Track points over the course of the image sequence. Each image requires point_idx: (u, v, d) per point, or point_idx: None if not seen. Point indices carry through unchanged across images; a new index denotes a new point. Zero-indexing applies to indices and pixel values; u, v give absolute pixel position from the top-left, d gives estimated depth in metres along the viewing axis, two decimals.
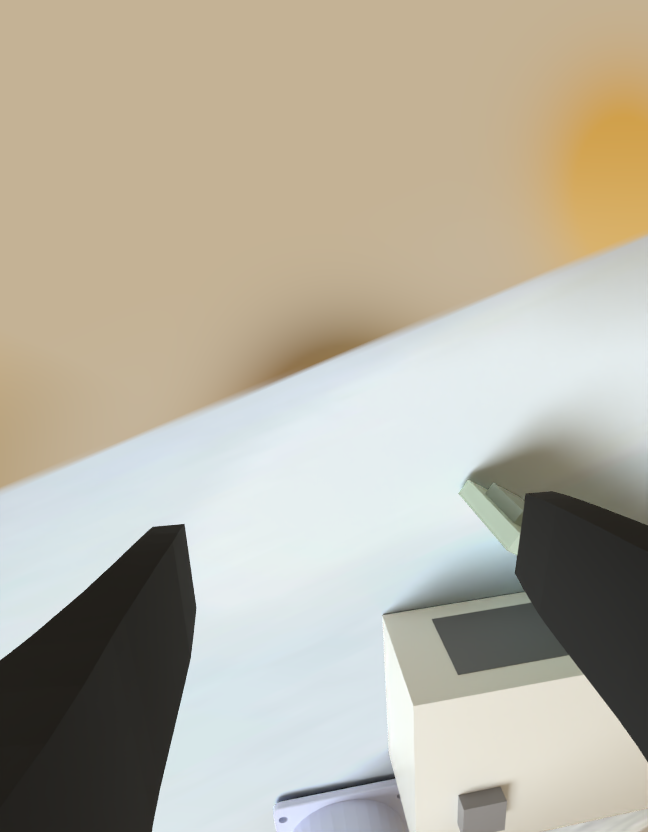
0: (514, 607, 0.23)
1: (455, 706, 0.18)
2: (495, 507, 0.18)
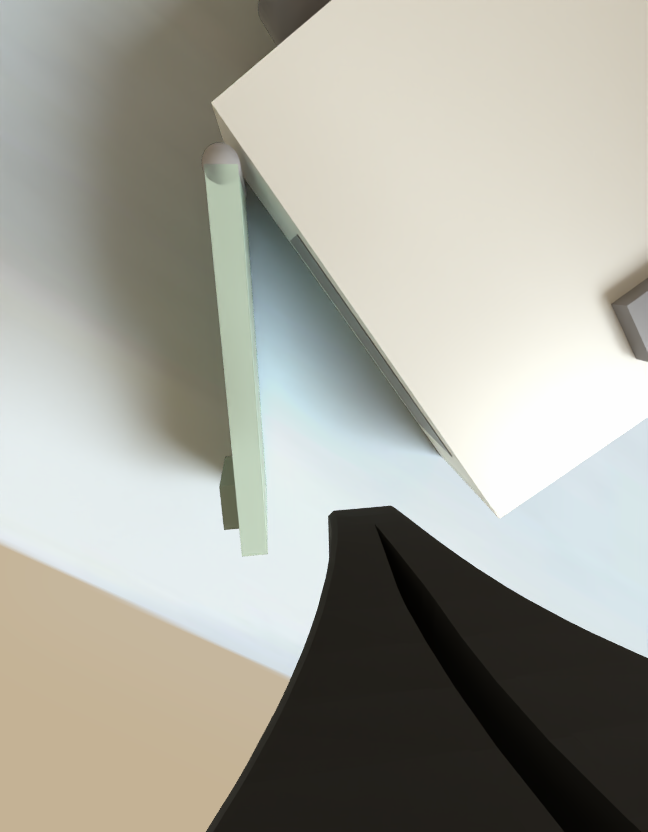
0: (360, 339, 0.16)
1: (485, 472, 0.14)
2: None
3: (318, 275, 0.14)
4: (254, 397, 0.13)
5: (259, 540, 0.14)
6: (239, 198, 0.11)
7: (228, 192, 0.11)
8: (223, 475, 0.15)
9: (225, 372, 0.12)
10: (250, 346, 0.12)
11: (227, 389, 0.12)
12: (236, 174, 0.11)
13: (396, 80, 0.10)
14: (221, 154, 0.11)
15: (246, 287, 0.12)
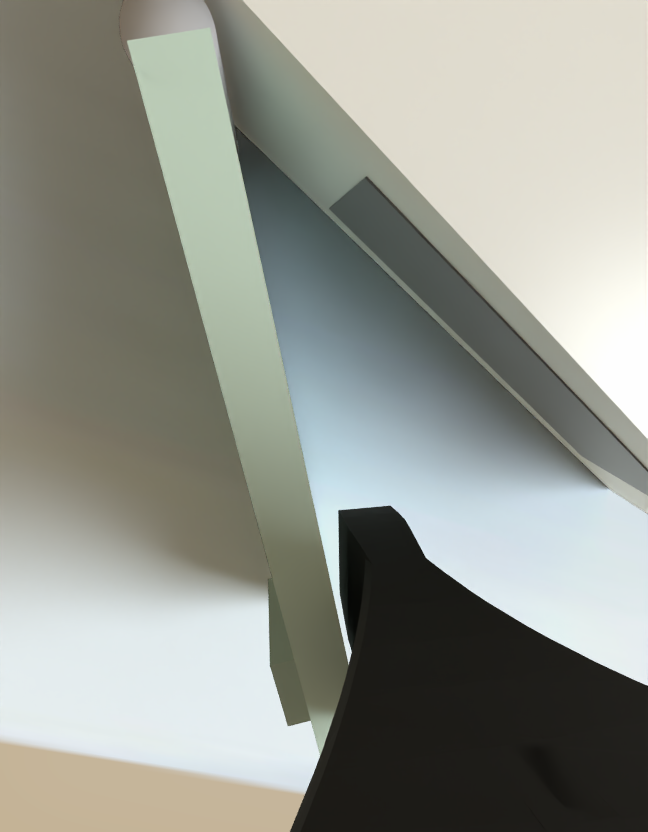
0: (472, 346, 0.10)
1: None
2: None
3: (398, 256, 0.08)
4: (317, 532, 0.06)
5: None
6: (226, 117, 0.05)
7: (198, 105, 0.05)
8: (272, 630, 0.09)
9: (253, 497, 0.06)
10: (296, 439, 0.06)
11: (262, 528, 0.06)
12: (210, 55, 0.04)
13: None
14: (165, 8, 0.04)
15: (271, 320, 0.05)
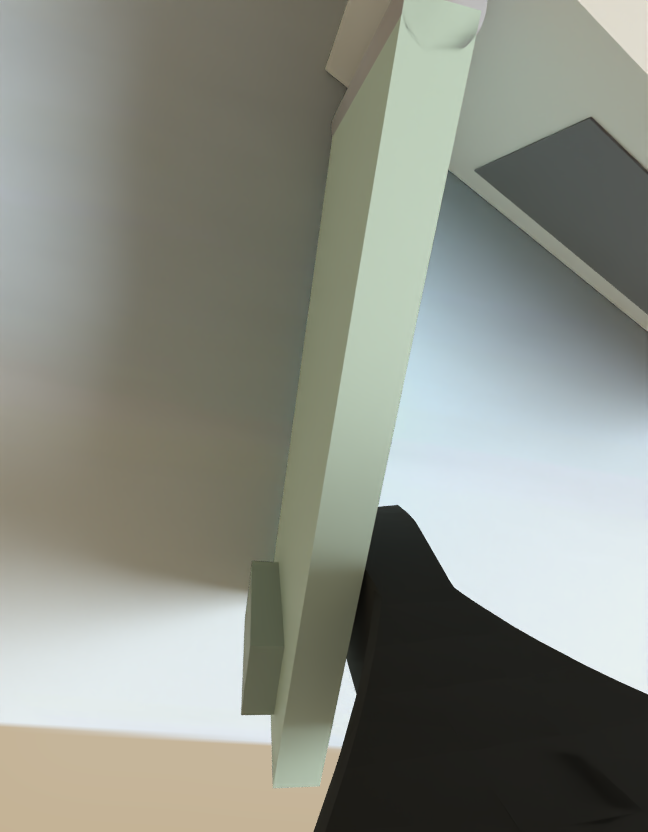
0: (620, 288, 0.10)
1: None
2: None
3: (569, 202, 0.08)
4: (372, 519, 0.06)
5: (312, 765, 0.07)
6: (459, 96, 0.05)
7: (441, 75, 0.05)
8: (254, 612, 0.09)
9: (328, 464, 0.06)
10: (393, 421, 0.06)
11: (325, 499, 0.06)
12: (470, 35, 0.05)
13: None
14: None
15: (418, 299, 0.05)
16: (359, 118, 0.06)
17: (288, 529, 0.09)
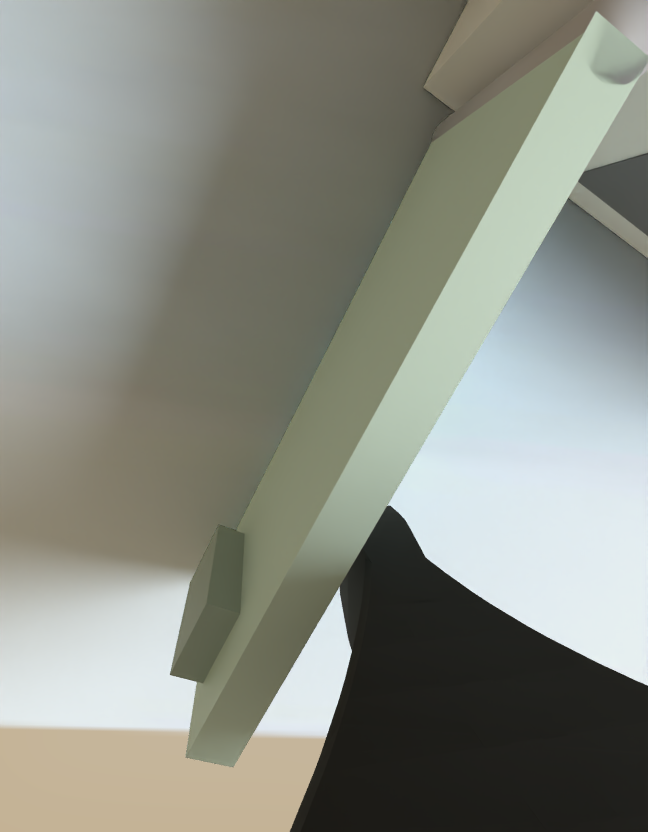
0: None
1: None
2: None
3: None
4: (386, 502, 0.06)
5: (234, 742, 0.07)
6: (605, 127, 0.05)
7: (597, 101, 0.05)
8: (214, 572, 0.08)
9: (365, 433, 0.06)
10: (441, 411, 0.06)
11: (350, 466, 0.06)
12: (634, 76, 0.05)
13: None
14: (636, 16, 0.05)
15: (504, 301, 0.05)
16: (488, 122, 0.06)
17: (272, 500, 0.09)
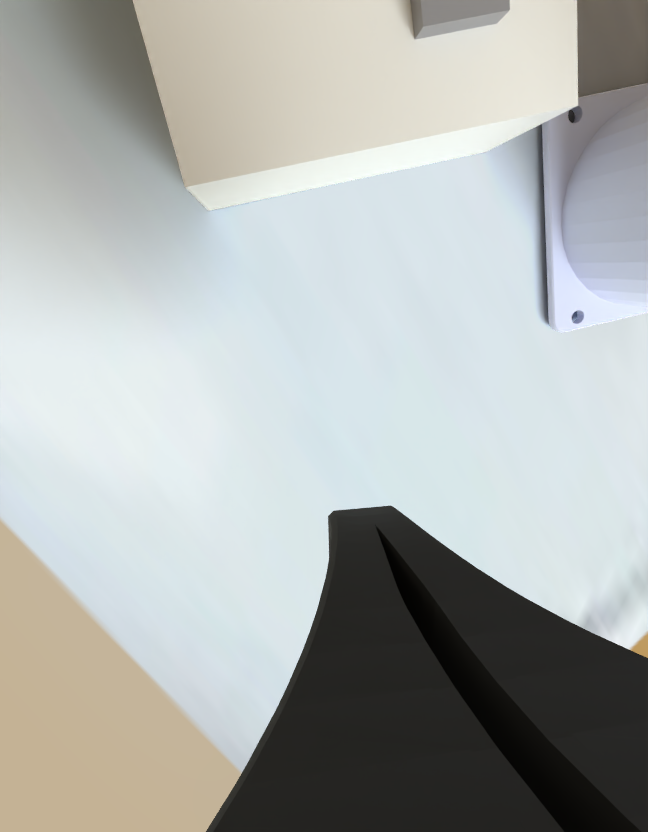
0: None
1: (181, 98, 0.10)
2: None
3: None
4: None
5: None
6: None
7: None
8: None
9: None
10: None
11: None
12: None
13: None
14: None
15: None
16: None
17: None
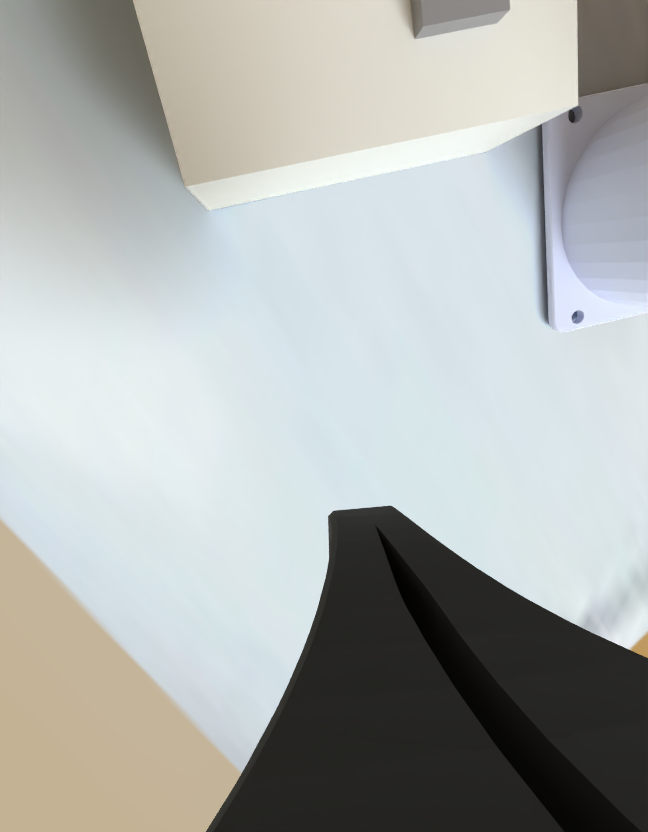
0: None
1: (181, 97, 0.10)
2: None
3: None
4: None
5: None
6: None
7: None
8: None
9: None
10: None
11: None
12: None
13: None
14: None
15: None
16: None
17: None
